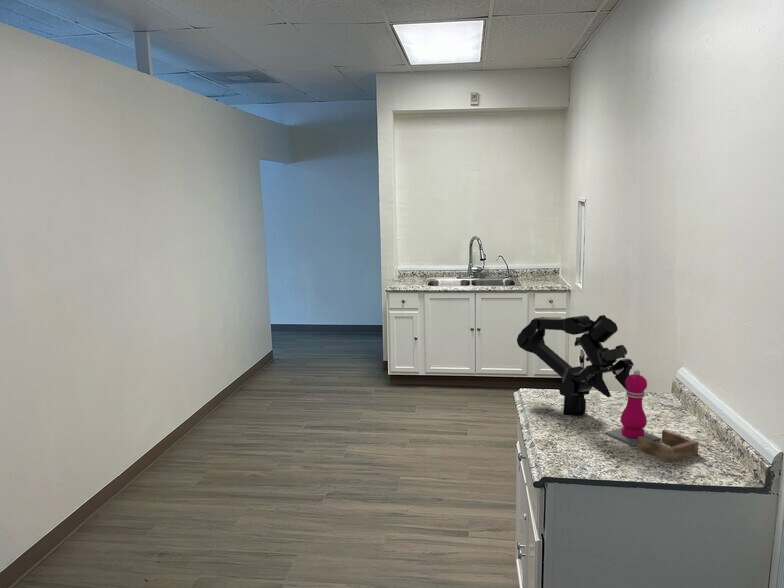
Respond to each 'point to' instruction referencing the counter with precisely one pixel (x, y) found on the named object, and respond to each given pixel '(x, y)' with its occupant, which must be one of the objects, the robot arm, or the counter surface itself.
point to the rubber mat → (630, 441)
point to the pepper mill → (634, 407)
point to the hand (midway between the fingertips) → (620, 394)
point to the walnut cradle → (678, 451)
